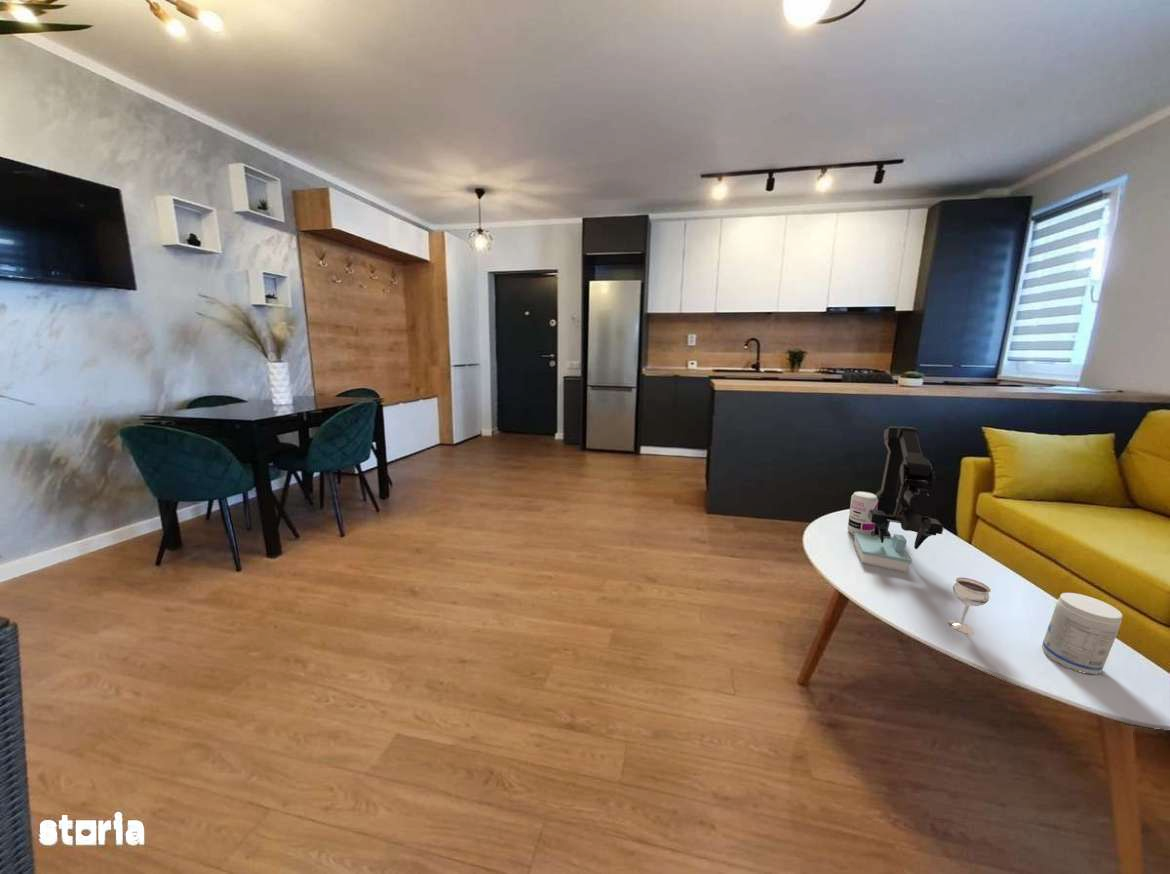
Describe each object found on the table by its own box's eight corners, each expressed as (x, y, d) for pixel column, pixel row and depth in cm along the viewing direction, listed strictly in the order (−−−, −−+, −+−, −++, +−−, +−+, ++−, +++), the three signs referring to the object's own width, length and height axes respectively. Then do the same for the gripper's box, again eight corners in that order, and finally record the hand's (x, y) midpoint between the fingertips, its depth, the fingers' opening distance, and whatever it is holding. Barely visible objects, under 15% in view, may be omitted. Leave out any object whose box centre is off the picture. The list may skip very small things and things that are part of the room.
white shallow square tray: (853, 545, 151) (855, 536, 150) (894, 553, 146) (896, 543, 146) (861, 563, 139) (864, 553, 138) (906, 572, 135) (908, 562, 134)
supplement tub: (1043, 639, 106) (1061, 586, 103) (1102, 663, 99) (1124, 606, 96) (1038, 657, 100) (1057, 601, 97) (1100, 683, 93) (1124, 624, 90)
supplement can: (873, 531, 161) (878, 493, 158) (873, 540, 154) (878, 500, 151) (847, 527, 165) (852, 489, 162) (846, 535, 158) (851, 496, 155)
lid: (853, 537, 151) (856, 522, 149) (897, 545, 146) (901, 529, 145) (862, 556, 138) (865, 539, 136) (910, 565, 133) (915, 548, 132)
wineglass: (937, 617, 113) (948, 576, 110) (963, 618, 113) (975, 577, 110) (957, 635, 107) (970, 592, 104) (986, 636, 106) (999, 593, 104)
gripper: (880, 504, 132) (870, 550, 136) (956, 515, 125) (943, 564, 129) (872, 492, 142) (862, 535, 146) (941, 502, 136) (929, 547, 139)
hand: (898, 545), depth 140 cm, fingers open, 9 cm apart
